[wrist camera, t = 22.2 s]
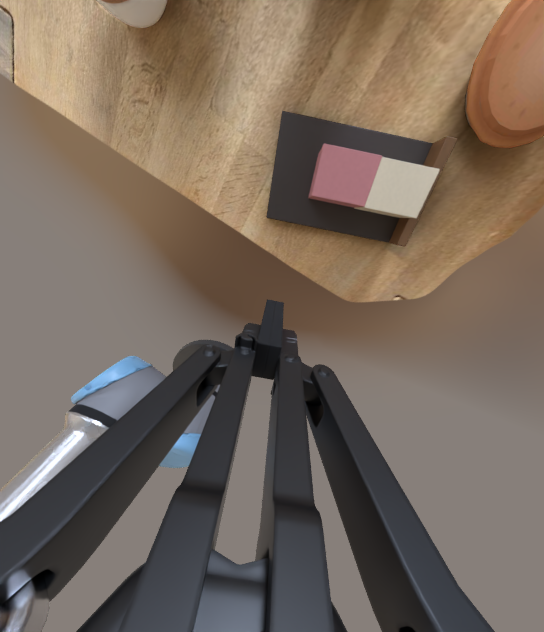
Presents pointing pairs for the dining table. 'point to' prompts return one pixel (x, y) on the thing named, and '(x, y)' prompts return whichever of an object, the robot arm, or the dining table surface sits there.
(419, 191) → the cream block
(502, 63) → the pie
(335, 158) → the pink block
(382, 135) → the backrest board
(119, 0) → the trinket box
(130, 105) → the dining table surface
